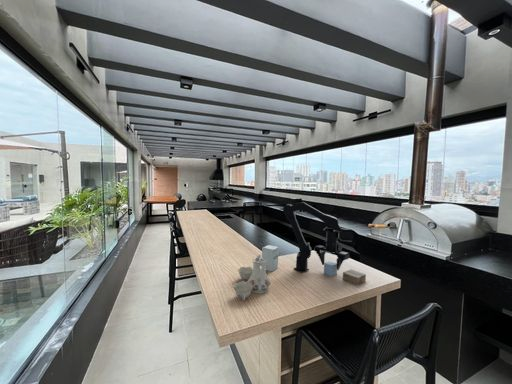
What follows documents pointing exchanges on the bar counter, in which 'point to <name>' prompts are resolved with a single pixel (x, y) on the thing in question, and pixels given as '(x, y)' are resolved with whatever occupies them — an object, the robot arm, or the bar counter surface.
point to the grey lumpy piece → (252, 279)
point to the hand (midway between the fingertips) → (330, 267)
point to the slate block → (330, 268)
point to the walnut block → (354, 277)
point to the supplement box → (270, 257)
